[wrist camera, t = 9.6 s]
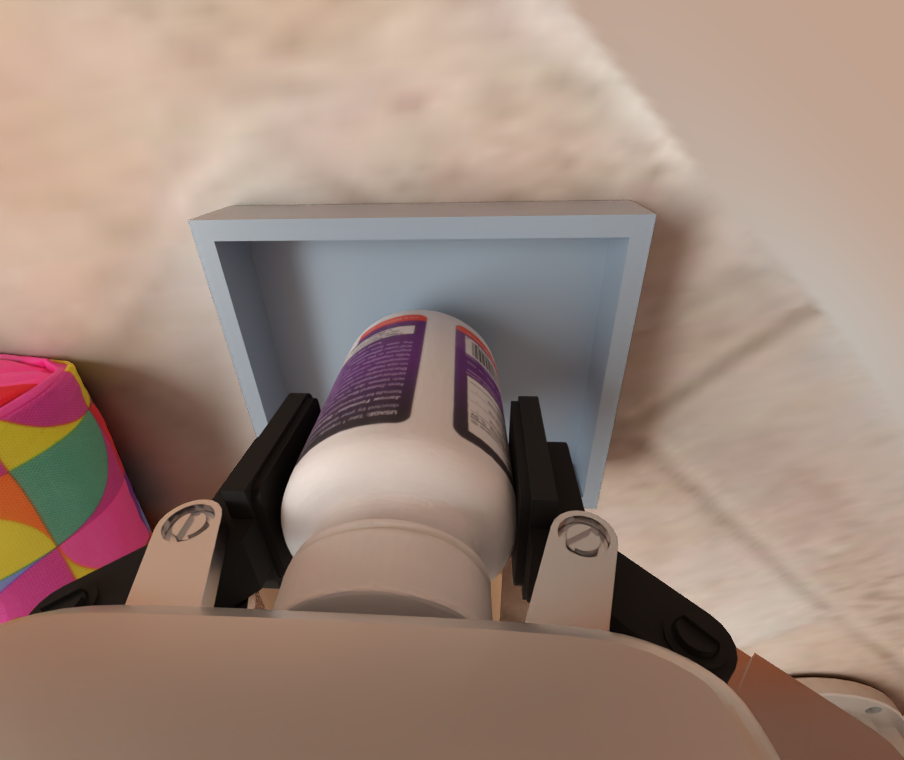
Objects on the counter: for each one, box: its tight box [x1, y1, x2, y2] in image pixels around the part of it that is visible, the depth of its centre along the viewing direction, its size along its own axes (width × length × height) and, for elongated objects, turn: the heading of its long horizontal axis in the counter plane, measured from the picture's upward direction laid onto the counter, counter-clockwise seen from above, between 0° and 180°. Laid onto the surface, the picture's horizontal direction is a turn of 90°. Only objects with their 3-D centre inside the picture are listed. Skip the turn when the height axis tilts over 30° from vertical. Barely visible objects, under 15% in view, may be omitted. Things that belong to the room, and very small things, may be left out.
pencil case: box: [0, 354, 153, 624], centre depth 20 cm, size 22×9×9 cm, turn 1°
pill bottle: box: [273, 310, 517, 620], centre depth 12 cm, size 5×5×10 cm
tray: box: [188, 200, 657, 509], centre depth 16 cm, size 13×11×2 cm
